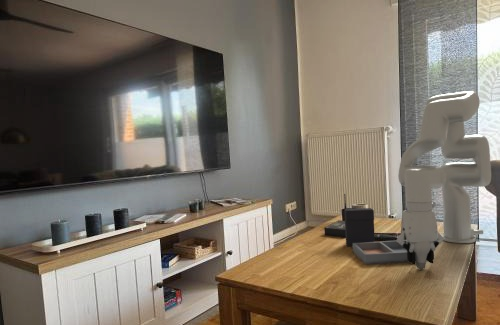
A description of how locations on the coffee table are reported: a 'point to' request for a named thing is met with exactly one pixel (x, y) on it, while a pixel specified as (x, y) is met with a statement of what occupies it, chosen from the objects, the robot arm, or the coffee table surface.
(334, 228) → the wireless controller
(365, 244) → the sorting tray
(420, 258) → the lightbulb
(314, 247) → the coffee table surface
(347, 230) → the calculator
